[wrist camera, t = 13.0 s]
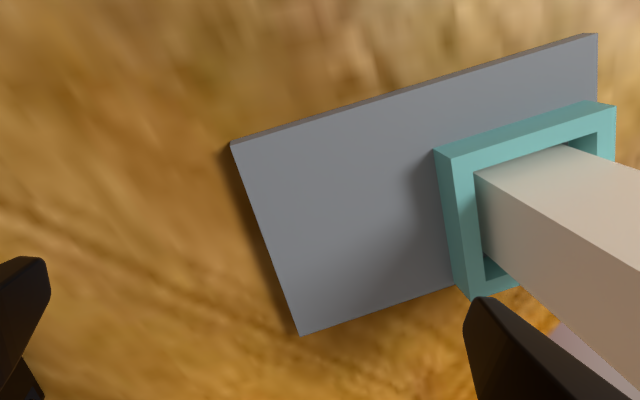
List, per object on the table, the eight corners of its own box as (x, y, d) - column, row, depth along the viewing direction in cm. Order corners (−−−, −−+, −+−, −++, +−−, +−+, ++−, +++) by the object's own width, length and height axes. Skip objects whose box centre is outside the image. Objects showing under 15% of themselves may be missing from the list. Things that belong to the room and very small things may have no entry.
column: (478, 247, 24) (719, 463, 12) (468, 169, 22) (745, 333, 10) (557, 220, 24) (870, 404, 12) (553, 141, 22) (924, 267, 10)
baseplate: (297, 326, 25) (304, 361, 22) (230, 141, 20) (228, 157, 18) (582, 229, 26) (622, 252, 24) (582, 33, 22) (632, 32, 19)
